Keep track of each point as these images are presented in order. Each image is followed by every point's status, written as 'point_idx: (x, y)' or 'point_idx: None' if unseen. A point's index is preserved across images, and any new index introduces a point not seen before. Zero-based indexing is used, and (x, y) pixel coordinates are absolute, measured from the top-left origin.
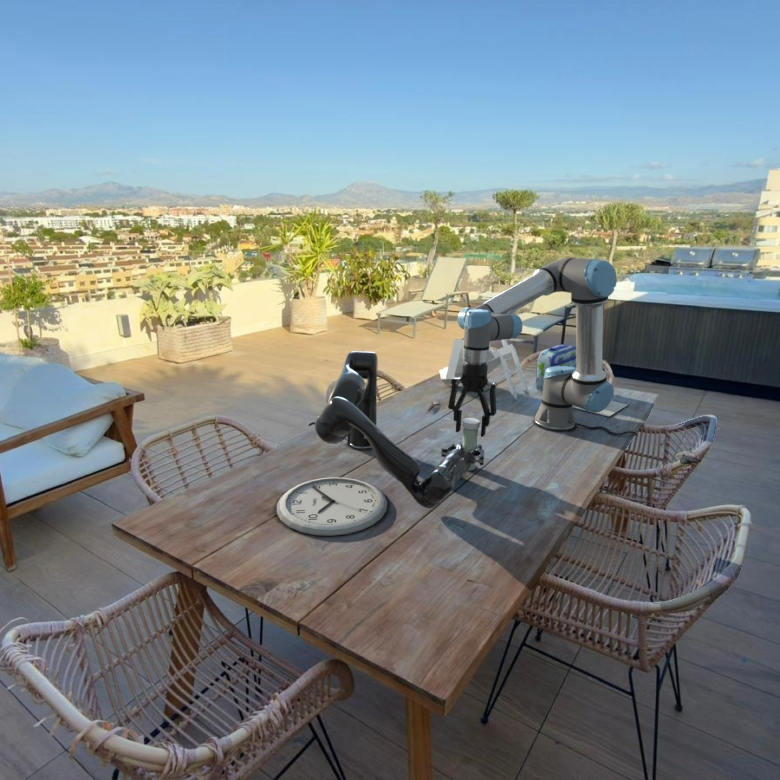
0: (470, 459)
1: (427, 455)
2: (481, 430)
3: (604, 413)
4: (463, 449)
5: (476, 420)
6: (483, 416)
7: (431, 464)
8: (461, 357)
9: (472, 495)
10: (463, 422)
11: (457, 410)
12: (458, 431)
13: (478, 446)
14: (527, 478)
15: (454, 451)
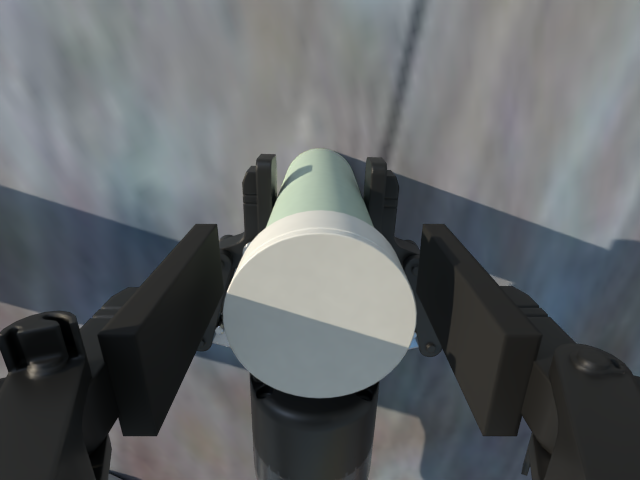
0: (377, 394)
1: (80, 137)
2: (433, 320)
3: None
4: None
5: (373, 290)
6: (500, 425)
7: (154, 227)
8: None
9: (397, 387)
10: (251, 361)
11: (108, 443)
12: (222, 282)
13: (379, 215)
14: (608, 169)
15: (298, 460)
